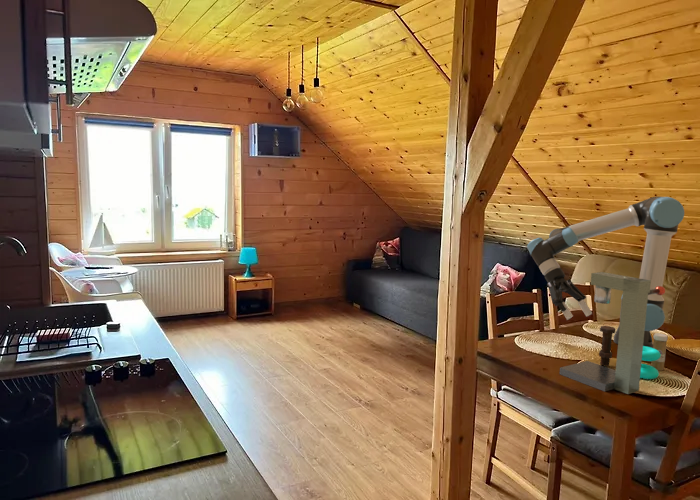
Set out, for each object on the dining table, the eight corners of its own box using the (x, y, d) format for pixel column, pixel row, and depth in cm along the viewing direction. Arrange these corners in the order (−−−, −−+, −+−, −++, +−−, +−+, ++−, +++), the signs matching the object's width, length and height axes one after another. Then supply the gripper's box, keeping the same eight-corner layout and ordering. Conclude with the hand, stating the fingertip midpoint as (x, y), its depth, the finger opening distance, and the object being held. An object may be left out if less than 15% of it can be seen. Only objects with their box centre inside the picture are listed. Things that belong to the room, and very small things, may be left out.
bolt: (611, 368, 199) (614, 330, 197) (596, 366, 201) (599, 328, 199) (612, 364, 204) (616, 326, 202) (598, 362, 206) (601, 324, 204)
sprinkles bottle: (652, 370, 198) (655, 335, 197) (648, 366, 203) (652, 332, 201) (665, 371, 197) (669, 336, 196) (662, 367, 202) (665, 333, 200)
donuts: (663, 348, 192) (658, 355, 185) (660, 375, 194) (655, 382, 186) (633, 343, 199) (626, 349, 191) (630, 368, 200) (624, 375, 192)
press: (559, 374, 192) (567, 271, 187) (600, 363, 204) (608, 267, 199) (620, 397, 172) (631, 283, 167) (661, 384, 184) (672, 277, 179)
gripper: (563, 275, 229) (590, 318, 220) (527, 278, 215) (554, 324, 205) (576, 265, 224) (604, 309, 215) (540, 268, 210) (568, 314, 200)
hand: (580, 316), depth 210 cm, fingers open, 13 cm apart
